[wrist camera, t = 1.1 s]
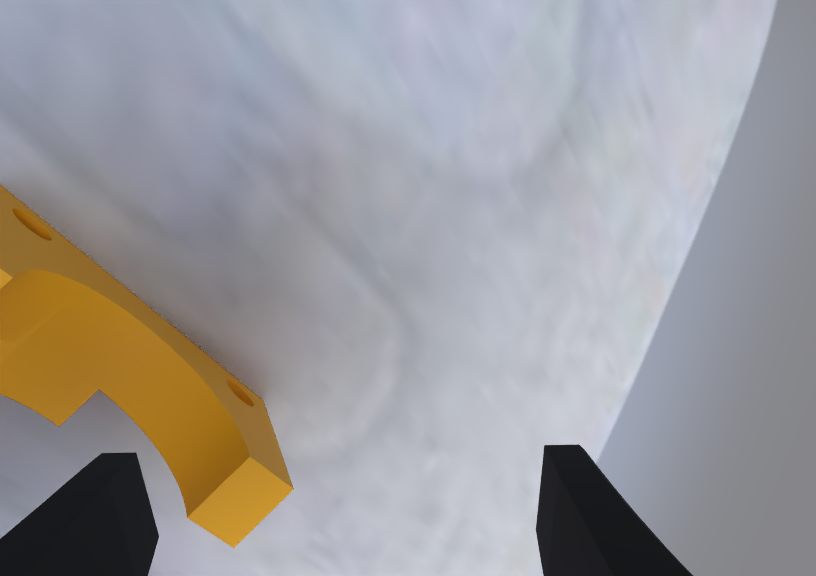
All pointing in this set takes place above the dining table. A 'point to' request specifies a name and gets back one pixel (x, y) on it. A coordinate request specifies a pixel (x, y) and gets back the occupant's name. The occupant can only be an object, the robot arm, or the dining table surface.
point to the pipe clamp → (131, 374)
